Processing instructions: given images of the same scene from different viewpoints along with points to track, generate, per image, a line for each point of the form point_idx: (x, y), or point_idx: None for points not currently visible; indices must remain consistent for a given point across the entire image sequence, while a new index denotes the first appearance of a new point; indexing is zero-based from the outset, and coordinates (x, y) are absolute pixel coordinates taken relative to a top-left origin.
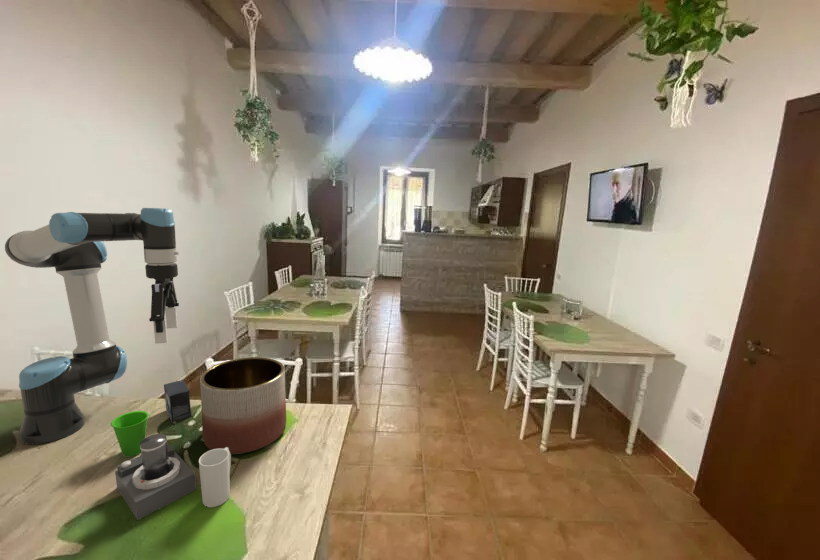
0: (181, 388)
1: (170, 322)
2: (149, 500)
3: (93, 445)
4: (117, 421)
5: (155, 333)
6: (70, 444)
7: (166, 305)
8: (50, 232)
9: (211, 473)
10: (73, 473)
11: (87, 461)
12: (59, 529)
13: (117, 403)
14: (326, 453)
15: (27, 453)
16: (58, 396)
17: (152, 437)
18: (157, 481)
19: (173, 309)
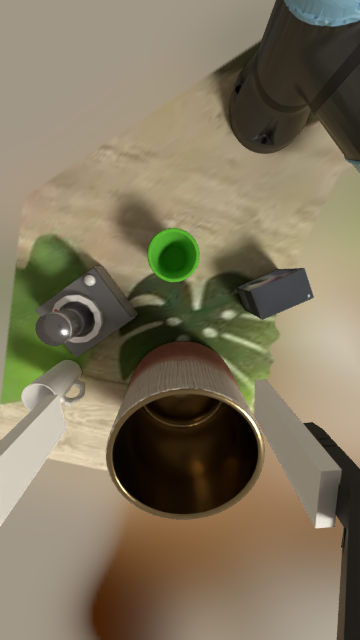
0: (273, 305)
1: (266, 413)
2: None
3: (204, 196)
4: (179, 234)
5: (14, 431)
6: (216, 160)
7: (350, 496)
8: None
9: (29, 392)
10: (143, 200)
11: (165, 206)
12: (48, 233)
13: (332, 178)
14: None
15: (207, 105)
16: (278, 75)
17: (59, 326)
18: None
19: (306, 502)
